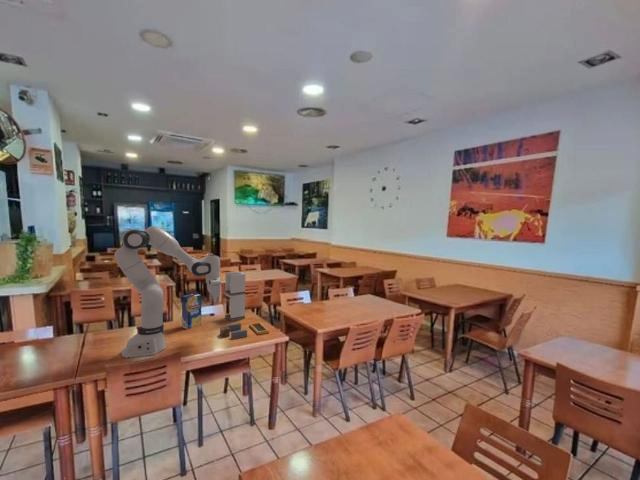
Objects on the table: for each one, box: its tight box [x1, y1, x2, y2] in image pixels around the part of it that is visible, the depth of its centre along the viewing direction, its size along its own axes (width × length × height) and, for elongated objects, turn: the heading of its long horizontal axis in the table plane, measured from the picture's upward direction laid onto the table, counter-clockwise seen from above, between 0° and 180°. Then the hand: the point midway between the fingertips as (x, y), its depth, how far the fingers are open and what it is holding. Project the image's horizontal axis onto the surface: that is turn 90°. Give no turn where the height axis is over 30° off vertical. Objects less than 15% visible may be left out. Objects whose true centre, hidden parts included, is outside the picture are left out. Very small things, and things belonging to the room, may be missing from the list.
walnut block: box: [219, 326, 231, 338], centre depth 206 cm, size 5×5×5 cm
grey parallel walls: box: [225, 322, 248, 340], centre depth 210 cm, size 10×16×4 cm, turn 31°
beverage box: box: [181, 293, 202, 330], centre depth 221 cm, size 7×11×22 cm, turn 148°
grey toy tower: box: [224, 271, 246, 322], centre depth 241 cm, size 11×11×35 cm
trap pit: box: [248, 321, 270, 336], centre depth 219 cm, size 8×18×2 cm, turn 31°
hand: (213, 300), depth 201 cm, fingers open, 8 cm apart
